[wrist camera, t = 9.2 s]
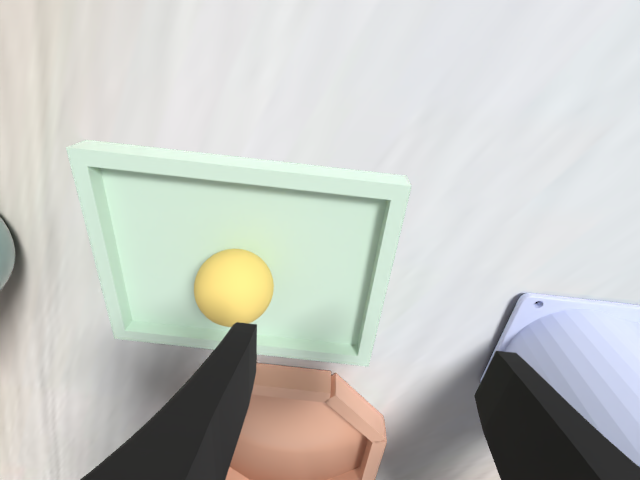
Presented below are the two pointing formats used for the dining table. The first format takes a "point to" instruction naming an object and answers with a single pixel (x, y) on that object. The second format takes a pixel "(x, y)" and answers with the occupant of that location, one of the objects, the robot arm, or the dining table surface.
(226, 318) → the ball
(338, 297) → the tray
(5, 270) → the cup
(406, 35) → the dining table surface
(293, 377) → the dish
